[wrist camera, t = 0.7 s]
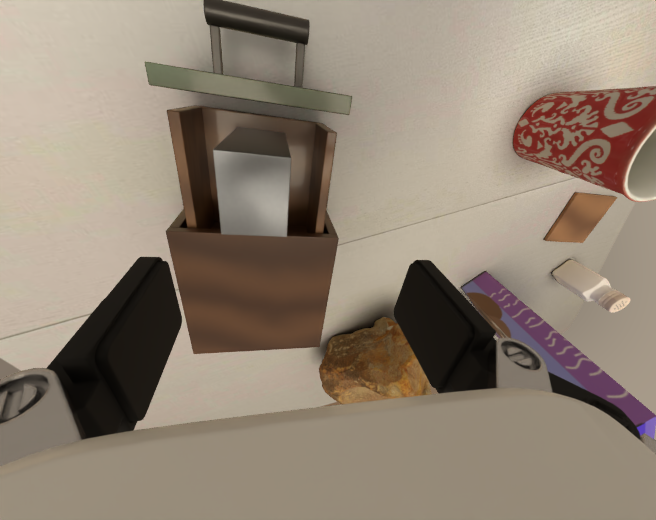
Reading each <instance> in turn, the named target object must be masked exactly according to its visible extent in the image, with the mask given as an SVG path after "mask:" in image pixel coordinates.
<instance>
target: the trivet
mask: <svg viewBox="0 0 656 520" xmlns="http://www.w3.org/2000/svg"><path fill="white" fill-rule="evenodd" d="M616 199H617V197H615V196H605V195H596V194H586V193H576V192H575V193H574V195H573V196H572V198H571V199H570V201H569V202H568V204H567V205H566V207H565V208H564V210H563V211H562V213H561V214H560V216H559V217H558V219H557V220H556V222H555V223H554V225H553V226H552V228H551V229H550V231H549V232H548V234H547V235H546V237H545V238H544V240H545V241H558V242H580V243H583V242H584V241H585V239H586V238H587V237H588V235H589V234H590V233H591V231H592V230H593V229H594V227H595V226H596V225H597V224H598V222H599V221H600V220H601V218H602V217H603V216H604V214H605V213H606V212H607V210H608V209H609V208H610V207H611V205H612V204H613V203H614V201H615V200H616Z"/></svg>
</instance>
